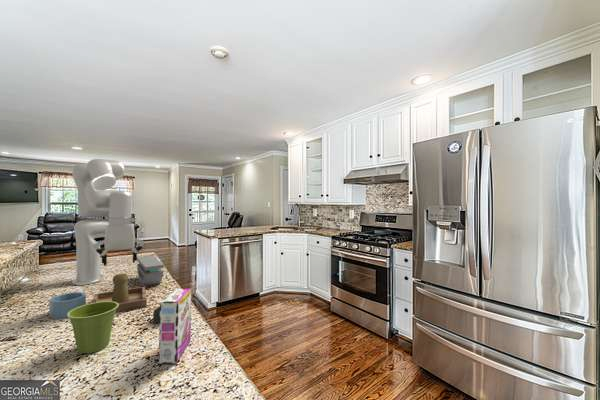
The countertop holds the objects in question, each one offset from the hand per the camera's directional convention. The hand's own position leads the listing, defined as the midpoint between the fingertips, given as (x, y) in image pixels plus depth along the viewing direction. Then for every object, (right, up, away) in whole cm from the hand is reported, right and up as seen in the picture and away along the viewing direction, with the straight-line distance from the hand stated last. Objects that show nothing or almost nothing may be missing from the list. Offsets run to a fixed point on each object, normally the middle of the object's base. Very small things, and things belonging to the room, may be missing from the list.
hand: (119, 263), depth 107 cm
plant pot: (+14, -17, -31) cm, 38 cm away
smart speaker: (+26, -17, -12) cm, 33 cm away
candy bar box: (+38, -17, -33) cm, 53 cm away
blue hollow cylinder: (-13, -16, -9) cm, 23 cm away
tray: (0, -16, 0) cm, 16 cm away
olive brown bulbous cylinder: (0, -16, 0) cm, 16 cm away
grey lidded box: (-4, -16, +28) cm, 32 cm away
